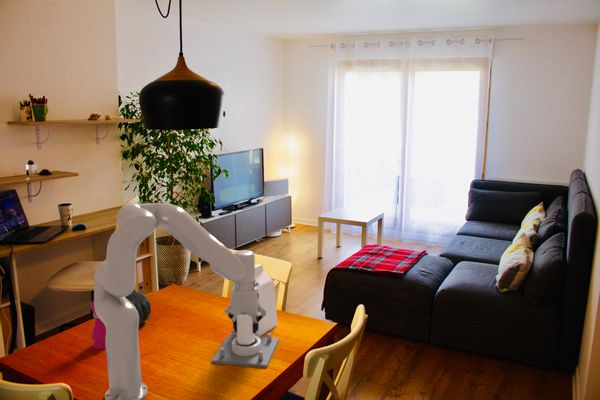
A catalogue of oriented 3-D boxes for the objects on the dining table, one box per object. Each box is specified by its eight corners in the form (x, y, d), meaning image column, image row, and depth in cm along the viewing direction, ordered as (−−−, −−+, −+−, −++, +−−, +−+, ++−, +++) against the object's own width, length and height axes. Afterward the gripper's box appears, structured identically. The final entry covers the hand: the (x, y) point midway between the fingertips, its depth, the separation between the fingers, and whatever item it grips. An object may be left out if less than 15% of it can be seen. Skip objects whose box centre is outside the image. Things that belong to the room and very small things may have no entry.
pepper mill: (106, 350, 186) (101, 300, 182) (88, 348, 188) (83, 298, 184) (117, 341, 193) (112, 292, 189) (100, 339, 195) (95, 291, 191)
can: (233, 343, 183) (232, 312, 181) (243, 335, 189) (242, 305, 186) (248, 347, 180) (247, 315, 178) (258, 339, 186) (257, 309, 184)
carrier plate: (267, 367, 174) (266, 357, 173) (211, 362, 177) (211, 352, 177) (278, 340, 193) (278, 330, 193) (228, 336, 197) (228, 327, 196)
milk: (259, 336, 197) (258, 273, 192) (236, 329, 203) (235, 267, 198) (277, 325, 207) (276, 264, 201) (255, 318, 213) (254, 259, 208)
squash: (163, 305, 213) (139, 278, 213) (144, 321, 199) (119, 293, 199) (142, 323, 218) (120, 297, 218) (122, 340, 204) (98, 312, 204)
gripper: (270, 282, 182) (271, 328, 186) (224, 279, 185) (226, 325, 189) (265, 290, 175) (266, 337, 179) (218, 287, 178) (219, 334, 181)
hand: (245, 330), depth 184 cm, fingers closed on can, 6 cm apart
